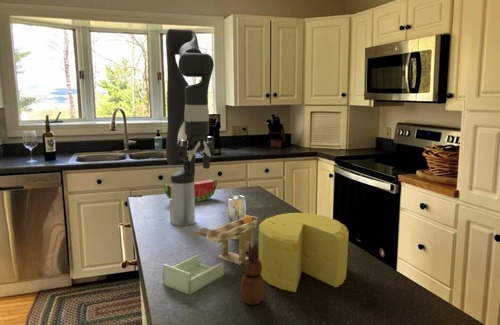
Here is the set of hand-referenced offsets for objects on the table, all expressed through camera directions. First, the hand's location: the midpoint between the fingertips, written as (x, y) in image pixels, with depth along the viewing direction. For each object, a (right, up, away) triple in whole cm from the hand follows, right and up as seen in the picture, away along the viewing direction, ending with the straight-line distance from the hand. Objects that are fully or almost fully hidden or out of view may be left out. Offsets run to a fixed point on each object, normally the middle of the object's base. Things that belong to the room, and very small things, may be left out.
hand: (197, 170), depth 127 cm
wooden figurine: (+17, -33, -25) cm, 45 cm away
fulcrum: (+13, -28, +4) cm, 31 cm away
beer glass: (+12, -25, +20) cm, 34 cm away
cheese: (+32, -30, -7) cm, 45 cm away
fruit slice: (-12, -17, +66) cm, 69 cm away
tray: (+1, -31, -13) cm, 34 cm away
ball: (+16, -17, +5) cm, 24 cm away
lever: (+9, -20, +2) cm, 22 cm away
